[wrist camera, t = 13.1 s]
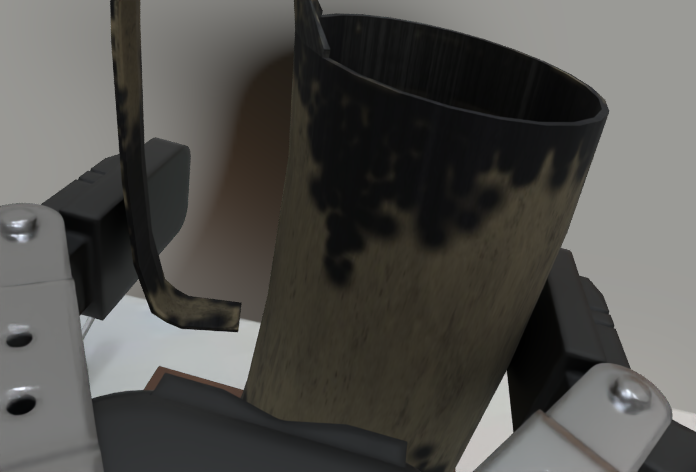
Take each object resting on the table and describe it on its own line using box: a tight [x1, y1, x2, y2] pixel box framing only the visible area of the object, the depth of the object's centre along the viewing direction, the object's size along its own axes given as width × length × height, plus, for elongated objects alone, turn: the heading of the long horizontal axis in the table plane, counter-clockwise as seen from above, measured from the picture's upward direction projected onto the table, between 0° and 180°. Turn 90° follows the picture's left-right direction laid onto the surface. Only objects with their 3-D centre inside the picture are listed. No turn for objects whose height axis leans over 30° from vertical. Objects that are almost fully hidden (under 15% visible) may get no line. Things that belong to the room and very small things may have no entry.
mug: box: [110, 0, 609, 472], centre depth 11 cm, size 8×6×12 cm
